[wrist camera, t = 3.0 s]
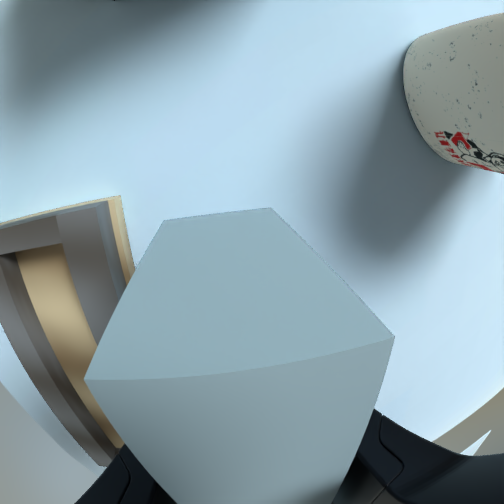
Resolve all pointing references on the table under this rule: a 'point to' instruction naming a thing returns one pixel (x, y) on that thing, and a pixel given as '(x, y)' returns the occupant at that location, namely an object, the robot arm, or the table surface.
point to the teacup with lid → (460, 91)
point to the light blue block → (240, 363)
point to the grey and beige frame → (66, 306)
